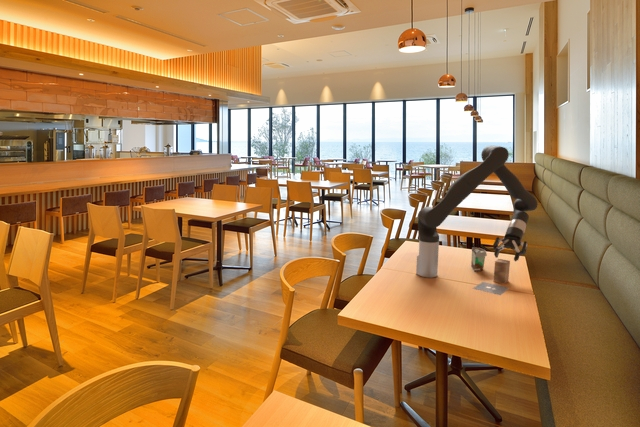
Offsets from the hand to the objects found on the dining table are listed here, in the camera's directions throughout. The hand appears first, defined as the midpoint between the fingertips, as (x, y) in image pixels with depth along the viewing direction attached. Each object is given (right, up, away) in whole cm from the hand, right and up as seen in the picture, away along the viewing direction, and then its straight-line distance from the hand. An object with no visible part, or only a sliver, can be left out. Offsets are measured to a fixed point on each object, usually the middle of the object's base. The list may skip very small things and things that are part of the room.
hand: (505, 258), depth 191 cm
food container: (-5, -8, +18) cm, 20 cm away
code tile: (-10, -12, -9) cm, 19 cm away
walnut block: (-2, -11, 0) cm, 11 cm away
